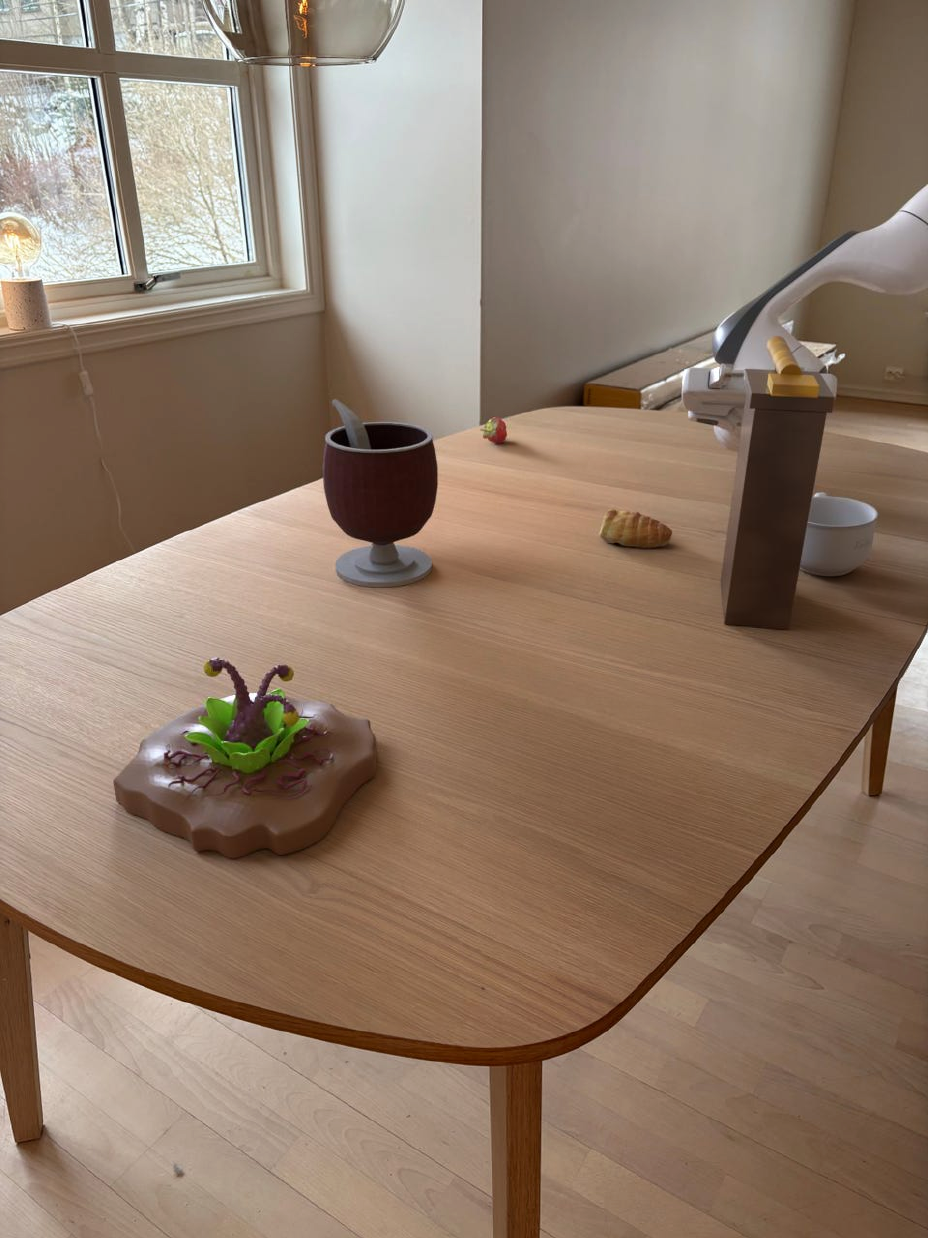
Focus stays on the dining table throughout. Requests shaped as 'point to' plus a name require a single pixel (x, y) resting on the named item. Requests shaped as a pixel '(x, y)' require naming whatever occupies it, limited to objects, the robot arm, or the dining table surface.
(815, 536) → the teacup
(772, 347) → the toy blocks
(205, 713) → the plant
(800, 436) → the rectangular pillar
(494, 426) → the fruit
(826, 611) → the dining table surface
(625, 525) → the pastry
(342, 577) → the mate gourd
